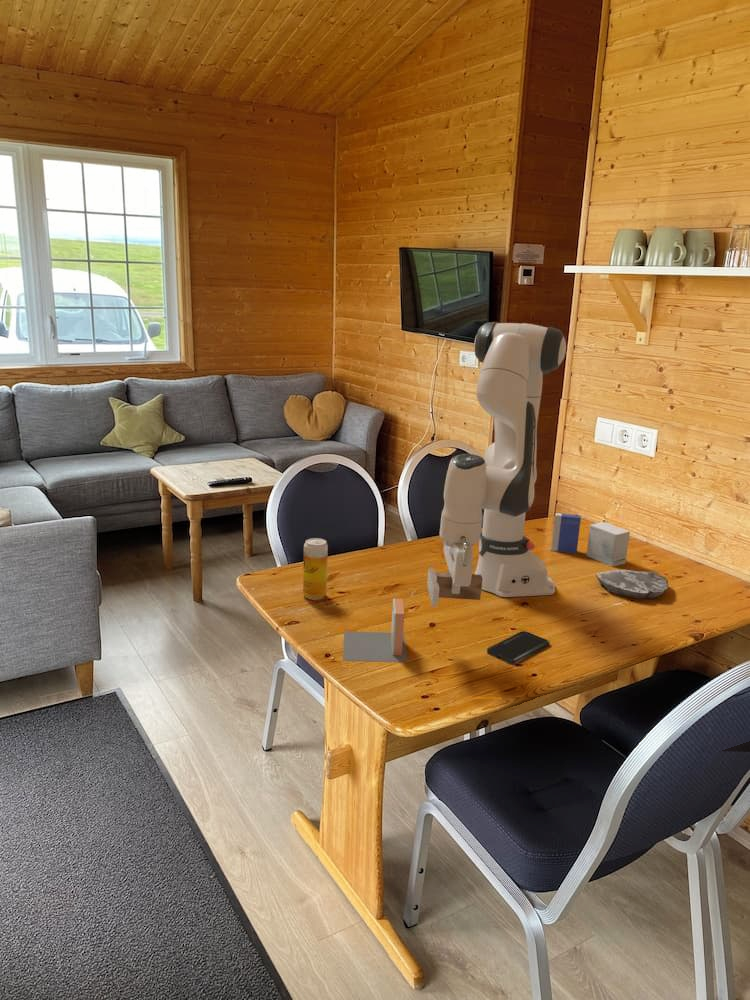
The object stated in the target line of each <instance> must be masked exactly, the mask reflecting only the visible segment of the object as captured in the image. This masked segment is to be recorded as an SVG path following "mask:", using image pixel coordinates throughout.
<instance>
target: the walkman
mask: <svg viewBox="0 0 750 1000" xmlns="http://www.w3.org/2000/svg"><path fill="white" fill-rule="evenodd" d="M553 520H554V521H553V530H552V539H551V546H550V547H551V549H550V551H553V552H560V553H567V554H569V553H570V554H577V553H578V546H579V545H578V544H579V536H580V528H581V521H582V516H581V515H578V514H577V513H573V514H570V513H569V514H568V513H559V512H556V513H555V514H554V519H553Z"/></svg>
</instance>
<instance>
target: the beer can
mask: <svg viewBox="0 0 750 1000" xmlns="http://www.w3.org/2000/svg"><path fill="white" fill-rule="evenodd" d="M328 548H329V546H328V542H327V540H326V539H323V538H321V537H319V538H318V537H311V538H308V539H306V540H305V543H304V544H303V567H302V569H303V570H302V571H303V574H302V576H303V577H302V580H303V581H302V582H303V583H302V584H303V585H302V595H303V596H304V597H305V598H306V599H307V598H308V600H310V599H311V601H319V600H322V599H324V598H325V596H326V595H327V590H328V589H327V585H328V556H329V555H328V551H329V549H328Z"/></svg>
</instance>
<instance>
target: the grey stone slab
mask: <svg viewBox="0 0 750 1000" xmlns="http://www.w3.org/2000/svg"><path fill="white" fill-rule="evenodd" d="M595 577H596V579H597V581H598V582H599V583H600V584H601V585H602V586H604V587H605V589H607V592H609V593H612V594H615V595H621V596H625V597H628V598H630V597H631V598H634V599H645V598H647V599H654V598H657V597H660V596H661V595H663V594H664V592H666V591H667V590H668V589H669V587H668V586H669V580H668V578H666V577H665V576H663V575H660V574H659V573H657V572H653V571H636V570H631V569H630V570H629V569H612V570H609V571H605V572H604V571H603V572H597V573H596V574H595Z"/></svg>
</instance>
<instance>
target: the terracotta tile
mask: <svg viewBox="0 0 750 1000" xmlns="http://www.w3.org/2000/svg"><path fill="white" fill-rule="evenodd" d="M391 610H392V611H391V612H392V613H391V629H390V631H391V632H390V633H391V646H392V655H402V644H403V633H404V628H405V627H404V624H405V607H404V602H403V598H392V609H391Z"/></svg>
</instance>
